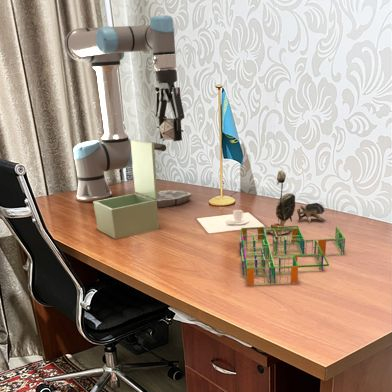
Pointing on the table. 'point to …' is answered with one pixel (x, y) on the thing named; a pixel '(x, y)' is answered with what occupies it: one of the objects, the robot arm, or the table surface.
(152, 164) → the lid
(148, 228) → the chest
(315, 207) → the brown animal figurine
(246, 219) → the ear model
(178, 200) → the brain slice
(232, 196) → the table surface
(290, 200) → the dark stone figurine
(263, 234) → the wall framing model
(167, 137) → the game die
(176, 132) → the robot arm
